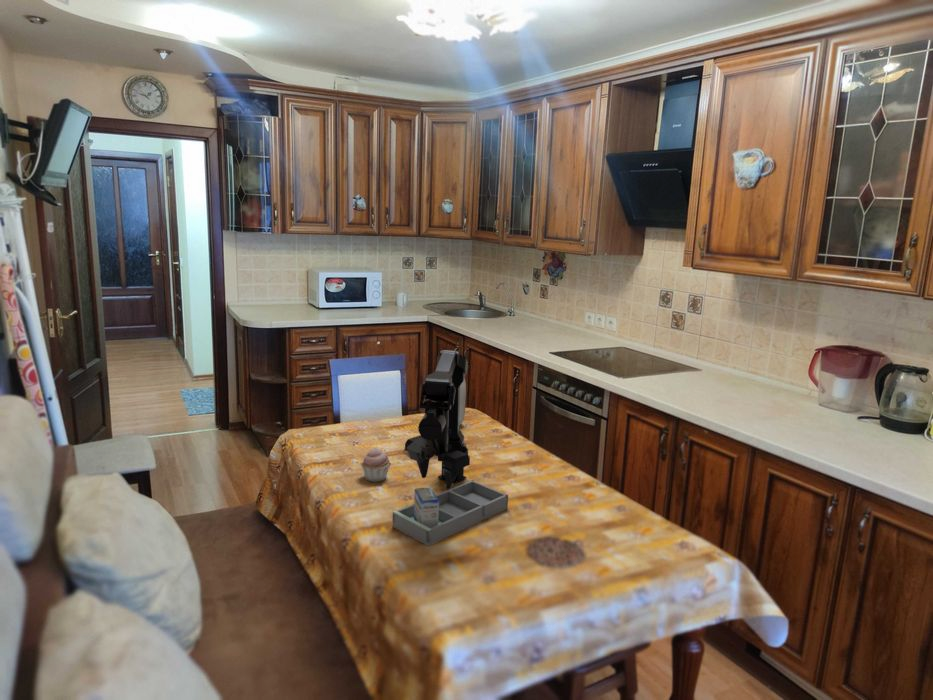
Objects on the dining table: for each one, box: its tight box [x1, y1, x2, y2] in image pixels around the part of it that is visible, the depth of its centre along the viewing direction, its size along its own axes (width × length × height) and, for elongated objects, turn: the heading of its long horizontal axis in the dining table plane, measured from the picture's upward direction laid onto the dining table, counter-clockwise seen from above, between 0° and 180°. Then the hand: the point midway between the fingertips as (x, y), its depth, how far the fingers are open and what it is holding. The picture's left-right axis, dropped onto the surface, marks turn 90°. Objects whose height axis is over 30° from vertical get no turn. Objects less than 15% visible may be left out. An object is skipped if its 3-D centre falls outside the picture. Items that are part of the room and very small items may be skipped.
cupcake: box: [360, 446, 392, 483], centre depth 192 cm, size 9×9×10 cm
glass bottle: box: [459, 377, 467, 426], centre depth 240 cm, size 10×10×28 cm
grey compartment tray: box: [392, 480, 509, 547], centre depth 169 cm, size 14×30×4 cm, turn 136°
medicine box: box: [413, 486, 439, 528], centre depth 162 cm, size 8×4×9 cm, turn 20°
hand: (435, 483), depth 163 cm, fingers open, 9 cm apart
